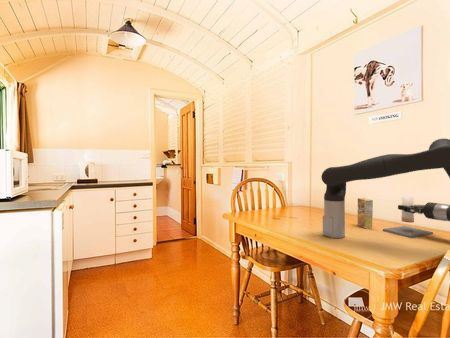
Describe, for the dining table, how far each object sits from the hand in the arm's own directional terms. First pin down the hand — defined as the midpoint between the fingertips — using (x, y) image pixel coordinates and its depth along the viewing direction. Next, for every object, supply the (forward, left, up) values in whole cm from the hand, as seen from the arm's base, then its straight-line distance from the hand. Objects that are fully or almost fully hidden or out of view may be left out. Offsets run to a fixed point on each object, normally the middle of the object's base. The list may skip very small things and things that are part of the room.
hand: (402, 206), depth 135 cm
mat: (0, -3, -13) cm, 13 cm away
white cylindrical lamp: (0, -3, -7) cm, 7 cm away
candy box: (-9, +14, -13) cm, 21 cm away
